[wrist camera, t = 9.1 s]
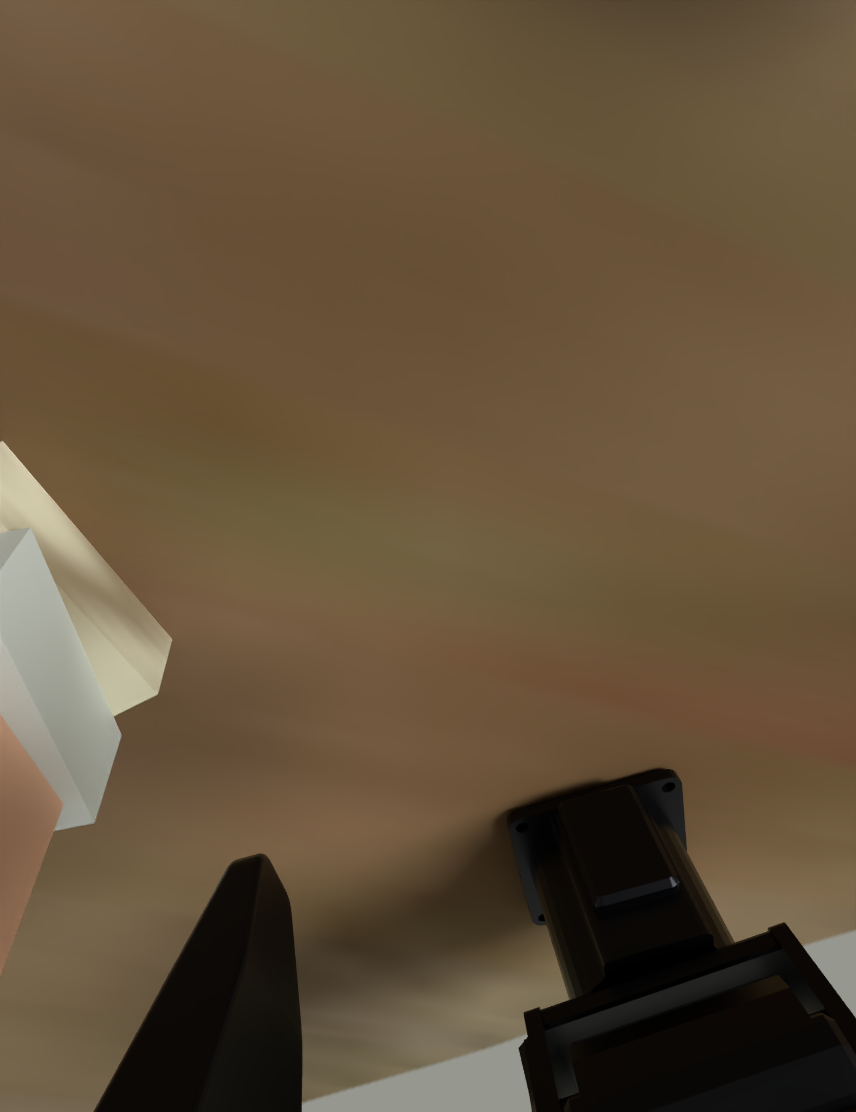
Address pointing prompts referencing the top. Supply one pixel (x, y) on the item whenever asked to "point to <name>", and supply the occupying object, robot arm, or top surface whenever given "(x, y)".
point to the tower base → (88, 592)
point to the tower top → (51, 684)
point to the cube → (21, 832)
